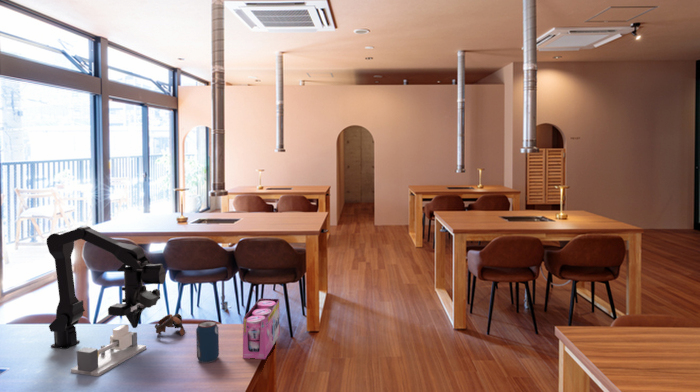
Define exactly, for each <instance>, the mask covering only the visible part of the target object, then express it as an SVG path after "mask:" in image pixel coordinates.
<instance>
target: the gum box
mask: <svg viewBox="0 0 700 392" xmlns="http://www.w3.org/2000/svg"><path fill="white" fill-rule="evenodd" d="M242 322H243V323H242V325H243V327H242V329H243V330H242V359H250V358H255V359H256V360H267V356H268V355H269V353H270V352H271V350H272V348H273V347H274V345H275V344H276V342H277V340H278V338H279V336H280V334H281V333H280V332H281V331H280V327H281V326H280V325H281V324H280V298H259V299H258V300H257V301H256V302H255V304H254V305H253V306H252V307H251V308H250V309H249V310H248V312H247V313H246V314H245V316H244V317H243V319H242ZM255 359H254V360H255Z"/></svg>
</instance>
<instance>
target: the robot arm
mask: <svg viewBox="0 0 700 392" xmlns="http://www.w3.org/2000/svg"><path fill="white" fill-rule="evenodd" d="M79 240H83V241H85V242H87V243H89V244H91V245H93V246H94V247H97V248H100V249H101V250H103V251H105V252H108V253H110V254H111V255H113V256H114V257H115V259H116V260H118V261H119V262H120V263H121V265H120V267H119V268H117V272H123V280H124V281H123V283H124V286H122V287H121V291H124V298H122V300H121V302H122V303H118V302H117V303H115V304H111V305H110V306H109V307H108V308H107V315H108V316H117V317H126V318H127V320H128V323H129V324H130V325H131V327H132V328H133V329H136V328H138V325H139V322H140V318H141V316H142V313H143V311H144V310H146V308H147V309H148V308H149V309H150V308H152V307H153V306H156V305H157V303H158V301H159V300H160V299H161V291H160V289H157V288H154V289H153V290H147V286H146V284H147V285H163V284H164V283H165V281H166V277H167V275H166V274H167V272H166V269H165V268H164V264H163V263H155V264H154V263H152V262H151V261H150V260H149V258H148V257H147V256H146V254H145V252H144V249H143V248H142V247H141V246H139V245H136V244H132V243H127V242H126V243H125V242H121V241H118V240H116V239H114V238H111V237H110V236H108V235H106V234H104V233H102V232H99V231H98V230H96V229H93V228H92V227H91V226H88V225H84V226H80V227H77V228H75V229H72V230H70V231H68V230H64V231H60V232H59V231H58V232H55V233H51V234H50V235H49V236H48V237H47V238H46V245H47V248H48V252H49V254H50V256H51V257H52V258H53V259H54V264H55V273H56V281H57V288H58V289H57V290H58V297H59V300H58V304H57V307H56V310H55V313H56V314H55V319H54V320H53V321H52V322H51V323H50V324H49V325H48V328H49V331H50V332H51V333H53V338H54V340H53V342H54V343H53V344H50V347H51V348H58V349H68V348H70V347H73V346H74V345H76V344H77V345H78V344H79V343H80V340H78V339H77V338H78V337H77V335H78V334H77V329H76V326H75V325H77V324H79V321H80V320H81V318H82V317H83V316H84V312H86V311H85V307H84V300H79V299H78V298H77V296H76V289H75V281H74V273H73V272H74V271H73V263H72V254H73V251H74V249H75V242H76V241H79ZM143 283H144V284H143Z"/></svg>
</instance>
